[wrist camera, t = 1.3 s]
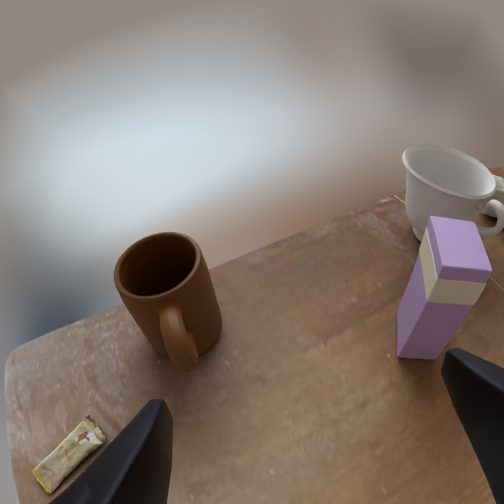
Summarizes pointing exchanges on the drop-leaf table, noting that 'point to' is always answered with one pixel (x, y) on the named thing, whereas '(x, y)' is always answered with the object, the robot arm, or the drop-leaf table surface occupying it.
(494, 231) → the teacup
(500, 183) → the decorative stone
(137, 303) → the mug
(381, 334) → the drop-leaf table surface
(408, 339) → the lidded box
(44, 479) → the snack bar
